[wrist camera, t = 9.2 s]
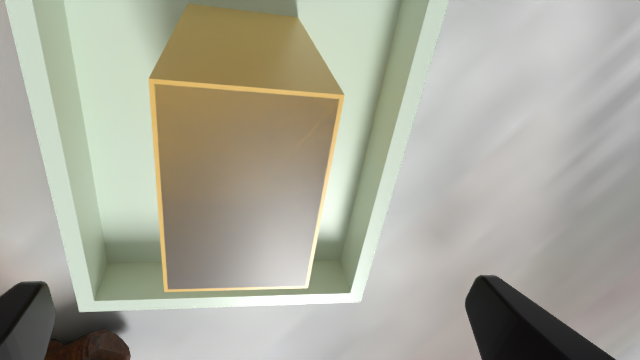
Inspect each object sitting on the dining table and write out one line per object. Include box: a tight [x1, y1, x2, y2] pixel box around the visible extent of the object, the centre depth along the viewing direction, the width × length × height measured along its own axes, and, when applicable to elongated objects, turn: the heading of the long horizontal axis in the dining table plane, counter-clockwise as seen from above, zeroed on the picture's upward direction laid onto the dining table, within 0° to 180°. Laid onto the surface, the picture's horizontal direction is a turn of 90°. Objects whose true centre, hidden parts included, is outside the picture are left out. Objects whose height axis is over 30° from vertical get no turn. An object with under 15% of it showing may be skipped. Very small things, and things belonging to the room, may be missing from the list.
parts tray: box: [5, 0, 449, 312], centre depth 16 cm, size 13×20×3 cm, turn 171°
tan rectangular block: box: [149, 4, 345, 292], centre depth 13 cm, size 4×6×8 cm, turn 171°
